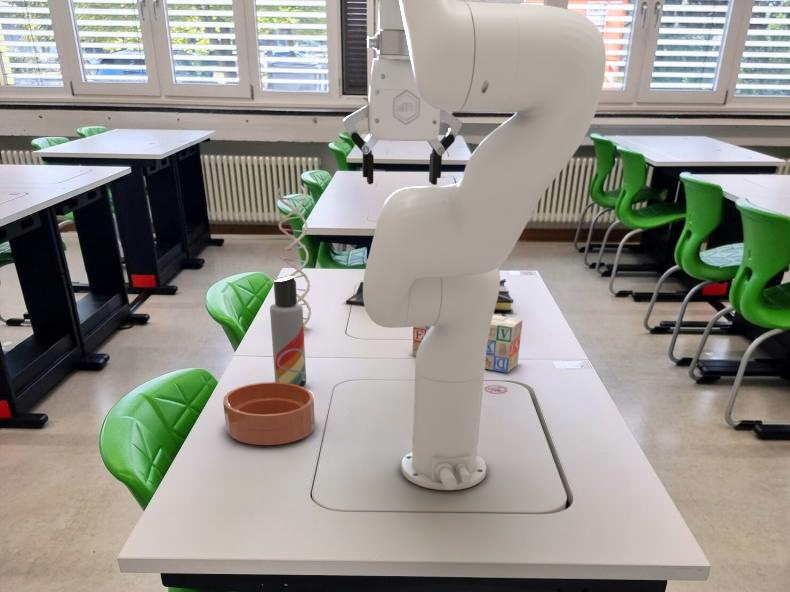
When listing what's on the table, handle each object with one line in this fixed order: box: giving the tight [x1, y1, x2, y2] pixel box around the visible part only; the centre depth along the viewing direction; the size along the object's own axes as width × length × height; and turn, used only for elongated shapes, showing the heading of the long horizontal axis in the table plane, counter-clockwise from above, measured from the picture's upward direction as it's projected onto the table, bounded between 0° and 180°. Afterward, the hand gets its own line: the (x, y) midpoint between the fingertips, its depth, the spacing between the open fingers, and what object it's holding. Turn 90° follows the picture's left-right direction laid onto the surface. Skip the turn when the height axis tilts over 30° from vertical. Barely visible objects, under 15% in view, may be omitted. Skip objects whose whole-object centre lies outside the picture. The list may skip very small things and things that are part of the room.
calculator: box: [345, 281, 365, 307], centre depth 188 cm, size 9×12×3 cm
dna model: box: [276, 184, 312, 331], centre depth 156 cm, size 7×6×30 cm
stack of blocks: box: [412, 314, 523, 374], centre depth 147 cm, size 21×6×12 cm, turn 62°
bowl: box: [222, 381, 316, 446], centre depth 118 cm, size 14×14×6 cm
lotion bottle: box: [269, 276, 307, 389], centre depth 130 cm, size 6×6×20 cm
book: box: [494, 278, 514, 314], centre depth 188 cm, size 22×17×5 cm
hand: (401, 183), depth 110 cm, fingers open, 9 cm apart
